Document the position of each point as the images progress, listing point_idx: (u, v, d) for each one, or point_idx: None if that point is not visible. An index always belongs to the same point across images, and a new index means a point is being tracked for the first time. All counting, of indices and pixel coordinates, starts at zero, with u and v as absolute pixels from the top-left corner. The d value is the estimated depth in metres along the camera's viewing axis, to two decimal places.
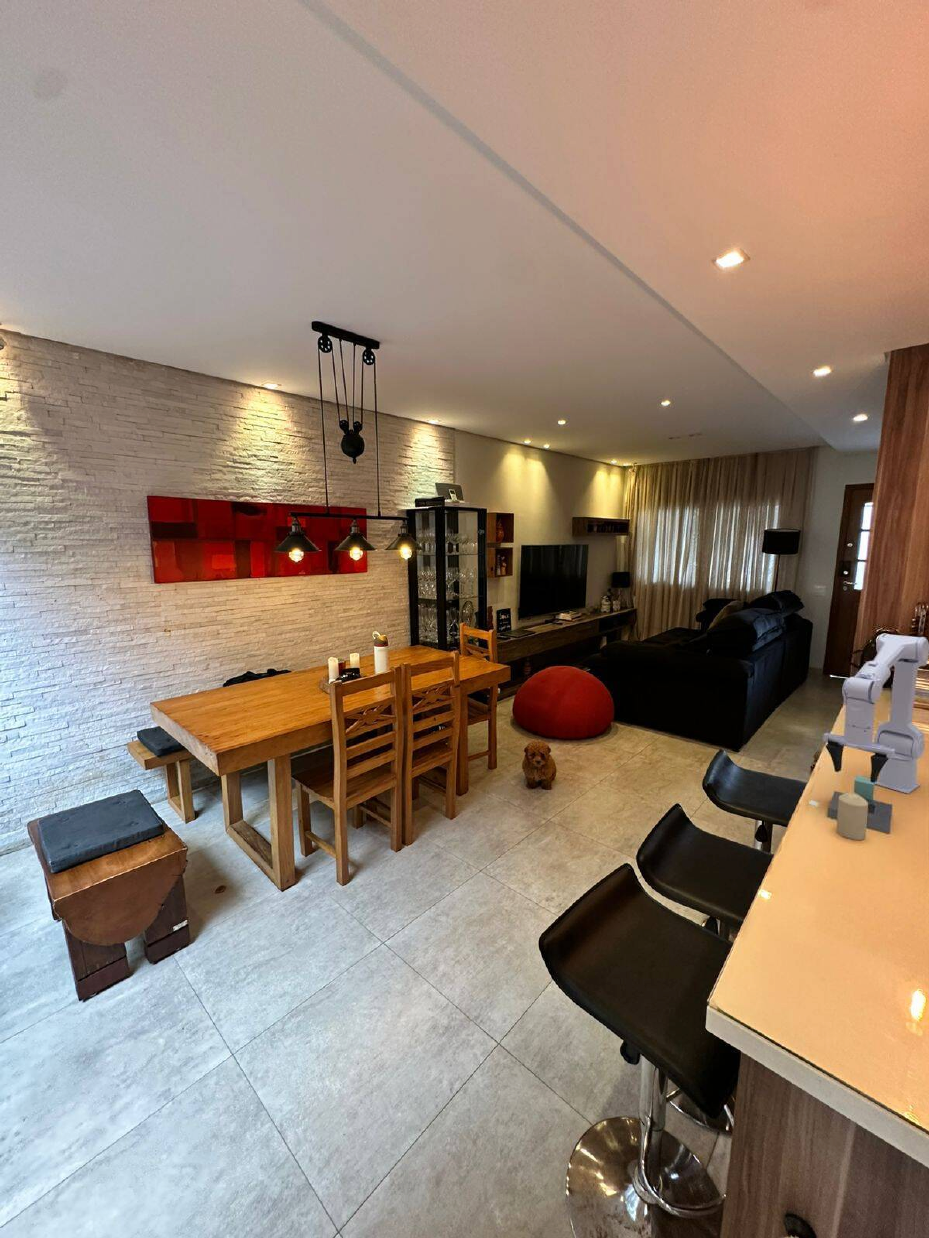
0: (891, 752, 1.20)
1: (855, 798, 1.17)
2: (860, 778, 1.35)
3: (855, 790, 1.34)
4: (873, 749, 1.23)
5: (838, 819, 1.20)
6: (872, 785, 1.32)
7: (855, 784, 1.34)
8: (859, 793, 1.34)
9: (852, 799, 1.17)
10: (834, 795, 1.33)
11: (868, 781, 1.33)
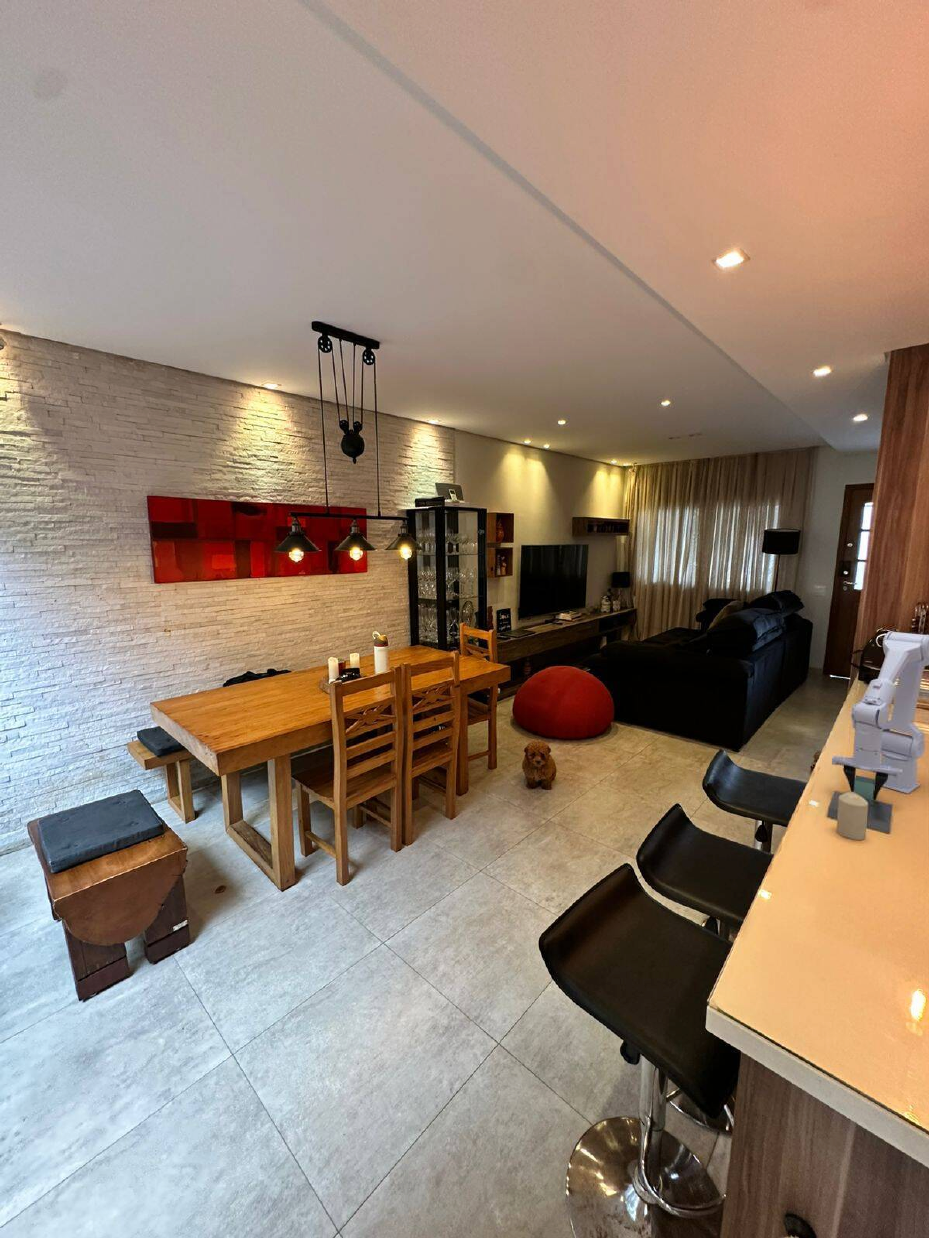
0: (901, 773, 1.28)
1: (855, 798, 1.17)
2: (860, 778, 1.35)
3: (855, 790, 1.34)
4: (884, 771, 1.30)
5: (838, 819, 1.20)
6: (872, 785, 1.32)
7: (855, 784, 1.34)
8: (859, 793, 1.34)
9: (852, 799, 1.17)
10: (834, 795, 1.33)
11: (868, 781, 1.33)
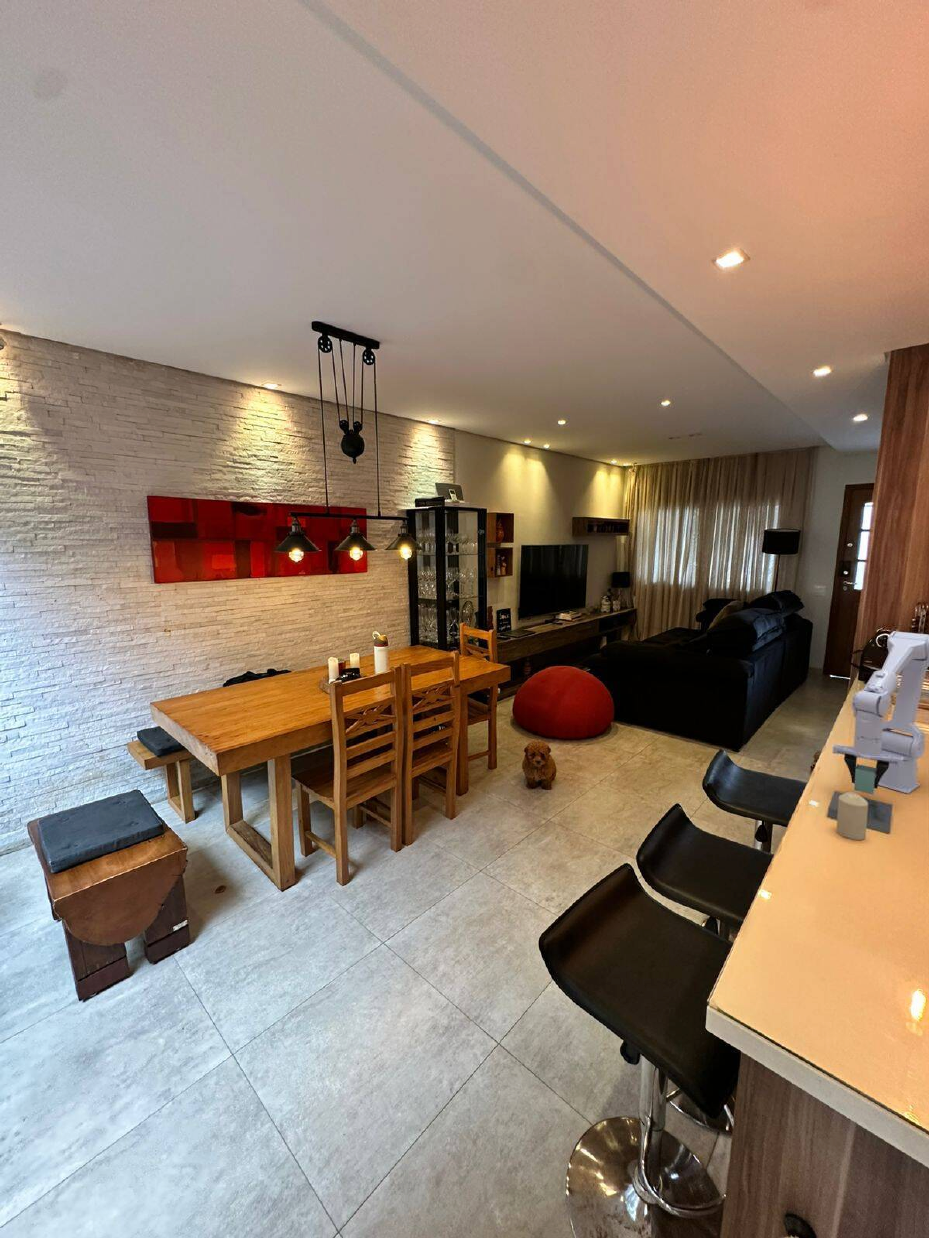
0: (902, 761, 1.28)
1: (855, 798, 1.17)
2: (861, 766, 1.35)
3: (856, 779, 1.34)
4: (885, 759, 1.29)
5: (838, 819, 1.20)
6: (873, 773, 1.31)
7: (856, 772, 1.34)
8: (860, 781, 1.33)
9: (852, 799, 1.17)
10: (834, 795, 1.33)
11: (869, 769, 1.33)
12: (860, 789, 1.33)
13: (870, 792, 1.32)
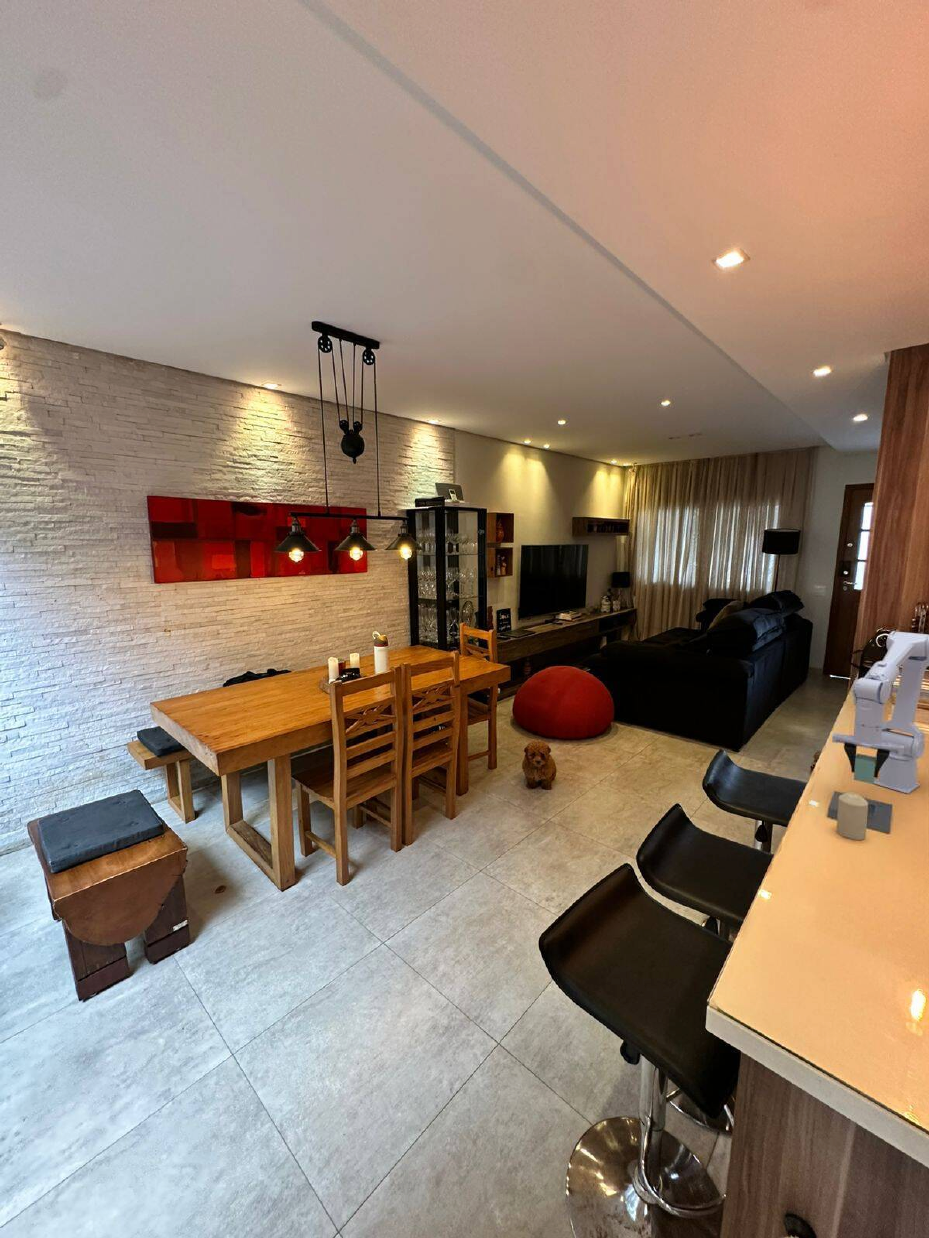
0: (902, 749, 1.26)
1: (855, 798, 1.17)
2: (861, 756, 1.33)
3: (856, 768, 1.32)
4: (885, 747, 1.27)
5: (838, 819, 1.20)
6: (873, 762, 1.29)
7: (856, 762, 1.31)
8: (860, 771, 1.31)
9: (852, 799, 1.17)
10: (834, 795, 1.33)
11: (869, 758, 1.31)
12: (860, 778, 1.31)
13: (870, 781, 1.30)
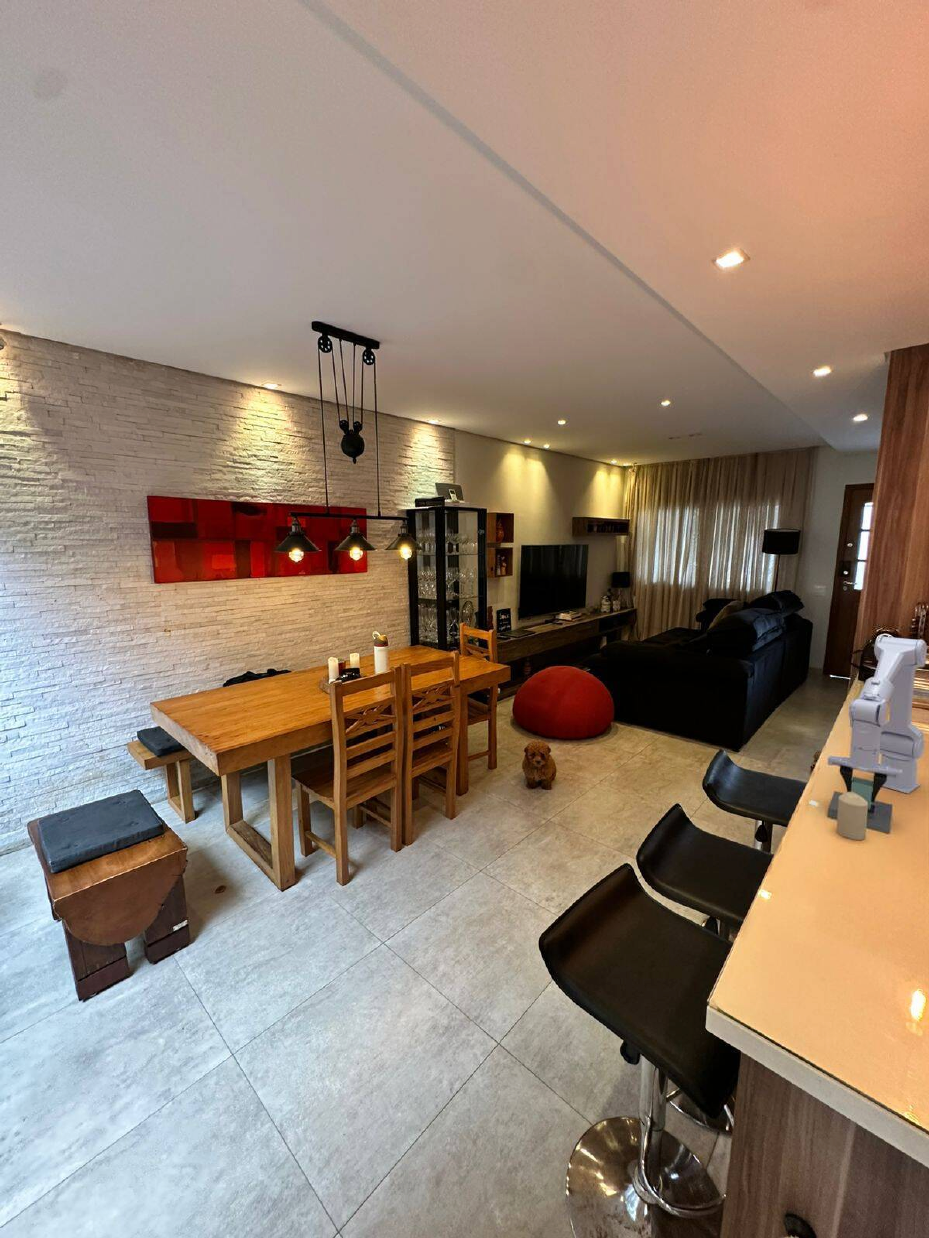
0: (900, 773, 1.21)
1: (855, 798, 1.17)
2: (858, 779, 1.28)
3: None
4: (883, 771, 1.22)
5: (838, 819, 1.20)
6: (870, 787, 1.24)
7: (852, 786, 1.27)
8: None
9: (852, 799, 1.17)
10: (834, 795, 1.33)
11: (866, 782, 1.26)
12: None
13: None
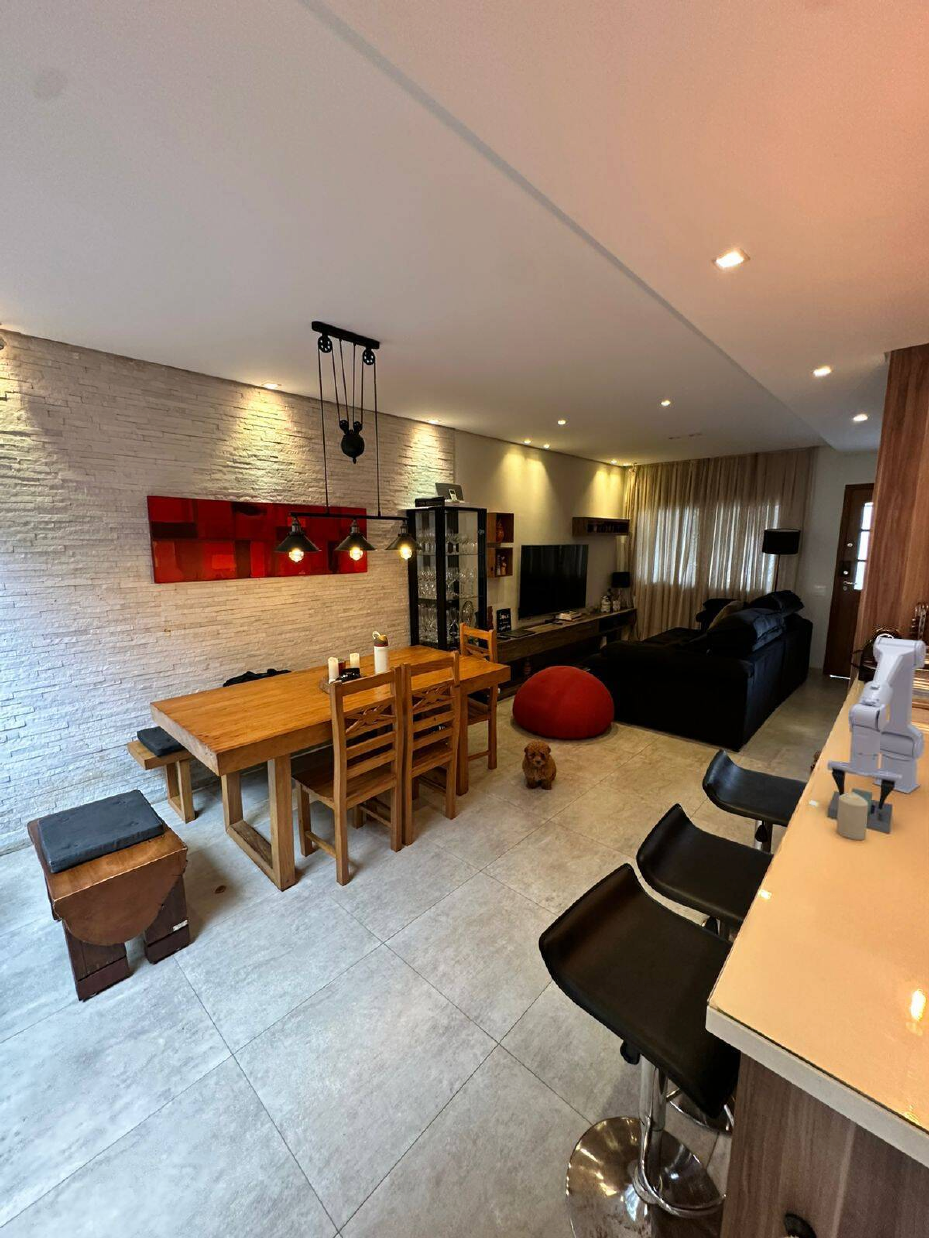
0: (900, 778, 1.21)
1: (855, 798, 1.17)
2: (857, 791, 1.28)
3: None
4: (882, 776, 1.22)
5: (838, 819, 1.20)
6: (869, 799, 1.24)
7: None
8: None
9: (852, 799, 1.17)
10: (834, 795, 1.33)
11: (865, 794, 1.26)
12: None
13: None
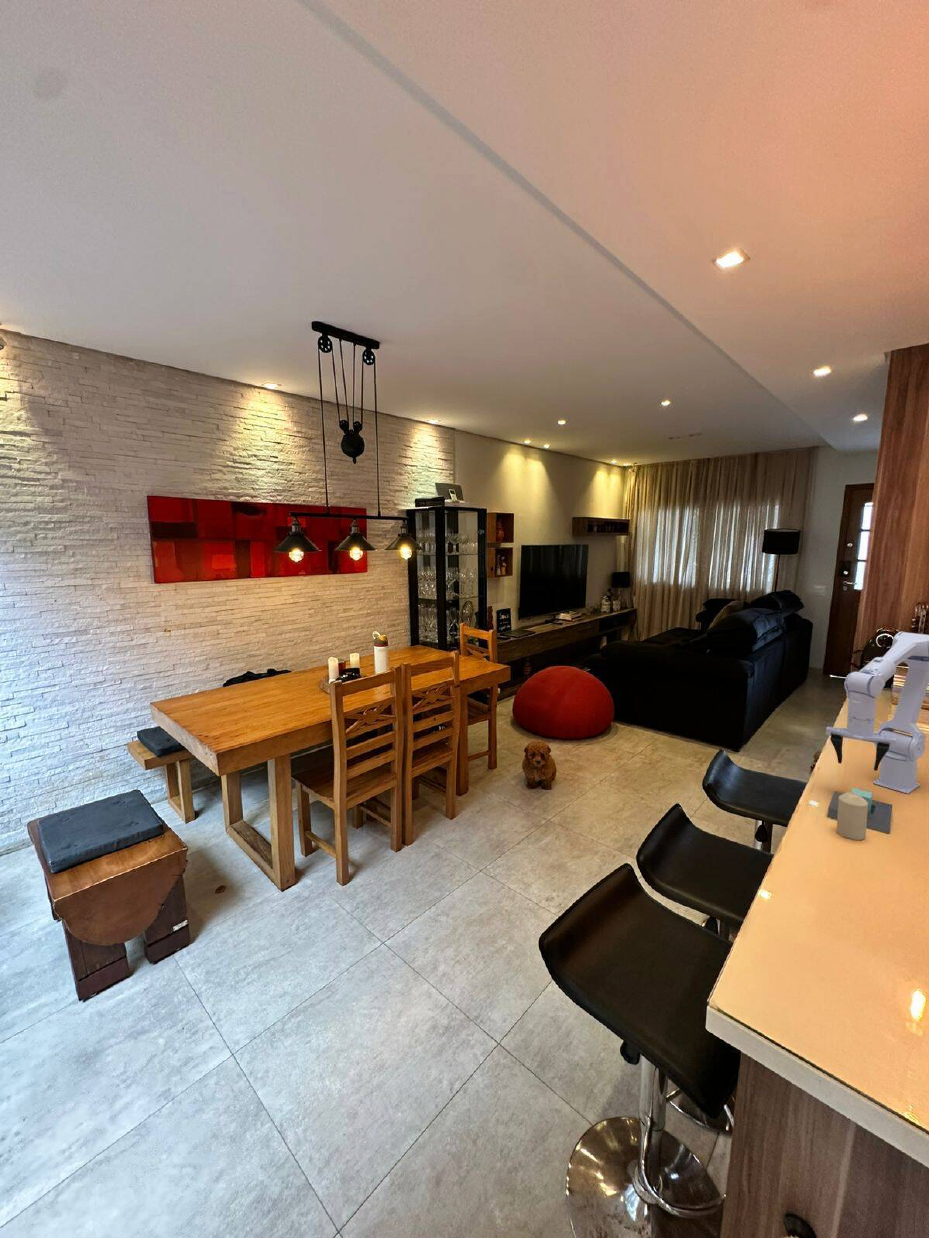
0: (894, 741, 1.29)
1: (855, 798, 1.17)
2: (857, 791, 1.28)
3: None
4: (878, 739, 1.30)
5: (838, 819, 1.20)
6: (869, 799, 1.24)
7: None
8: None
9: (852, 799, 1.17)
10: (834, 795, 1.33)
11: (865, 794, 1.26)
12: None
13: None
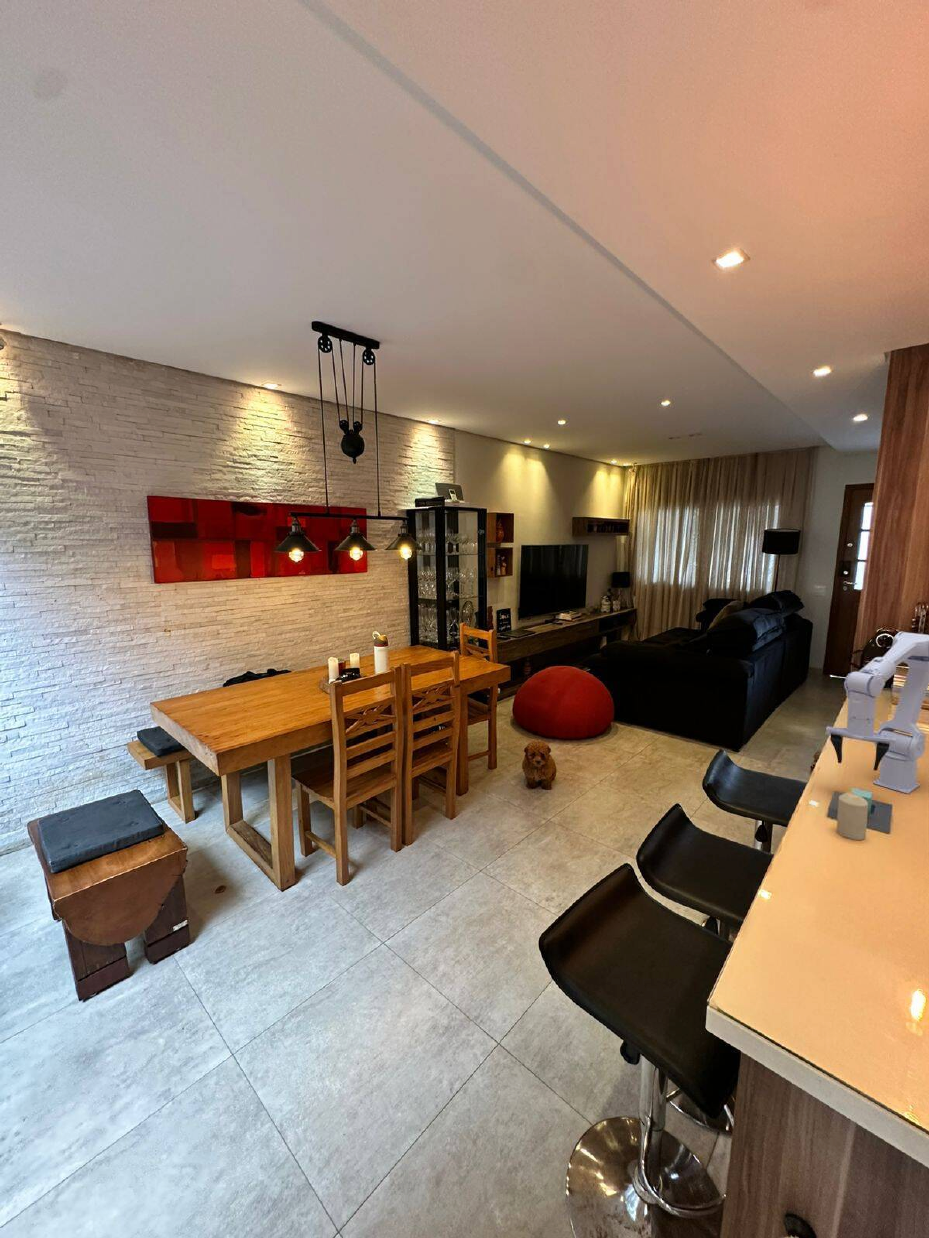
0: (894, 741, 1.29)
1: (855, 798, 1.17)
2: (857, 791, 1.28)
3: None
4: (877, 739, 1.30)
5: (838, 819, 1.20)
6: (869, 799, 1.24)
7: None
8: None
9: (852, 799, 1.17)
10: (834, 795, 1.33)
11: (865, 794, 1.26)
12: None
13: None
